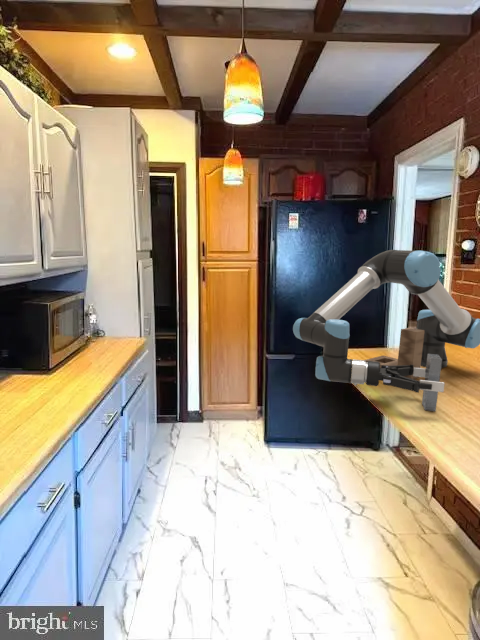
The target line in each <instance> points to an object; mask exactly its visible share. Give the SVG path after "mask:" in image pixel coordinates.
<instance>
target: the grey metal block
mask: <svg viewBox="0 0 480 640" xmlns="http://www.w3.org/2000/svg"><path fill="white" fill-rule="evenodd" d="M441 363H442V359H441V358H440V356H439V355H437V354H428V355H427V364H426V367H425V368H424V369H425V377H424V380H426V381H436V382H440V378H441V371H442V368H441ZM422 391H423V393H422V399H421V404H422V407H423V409H424V411H428V412H436V411H437V403H438V395H439V392H436V391H427V390H422Z"/></svg>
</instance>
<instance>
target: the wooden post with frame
mask: <svg viewBox="0 0 480 640" xmlns="http://www.w3.org/2000/svg"><path fill="white" fill-rule="evenodd" d="M424 332H425V330H419V329H416V328H414V327H406V328H401V329H400V334H399V335H400V337H399V346H398V356H397V358H396V357H392V356H388V355H380V356H376V357H371V358H367V359H364V360H365V361H366V362H367V363H368V362H369V361H375V362H379V363H380V368H381V365H387V366H393V365H414V366H413V369H414V368H422V366H421V358H422V349H423V341H424ZM404 377H407V378H411V379H414V380H417V379H419V378H420V377H415V376H413V375H408V376H404Z"/></svg>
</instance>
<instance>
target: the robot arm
mask: <svg viewBox="0 0 480 640" xmlns="http://www.w3.org/2000/svg"><path fill="white" fill-rule="evenodd" d="M440 266H441V262H440V259H439V258H438V257H437V256H436V254H434V253H432V252H430V251H426V250H407V249H406V250H404V249H403V250H401V249H399V250H398V249H389V250H385V251H382V252H380V253H378V254H377V255H375V256H373V257H372V258H370V259H368V260H367V261H365V263H363V264H362V265H361V266H360V267H359V268H358V269H357V273H356V274H355V275H354V276H353V277H352V278H351V279H349V280H348V282H347V283H345V284H344V285H343V286H342V287H341V288H339V290H337V292H335V293H334V294H333V295H332V296H331V297H330V298H329V299H328V300H326V301H325V302H324V303H323V304H322V305H321V306H319V307H318V308H317V309H316V310H315V311H314V312H313V313H312V314H310V316H308V317H301V318H298V319H296V320H295V322H294V324H293V325H292V331H293V334H294V336H295V338H296V339H299V340H301V341H303V342H305V343H306V342H307V343H311V344H313V345H316V346H319V347H322V348H323V351H322V355H319V356H317V357H316V361H315V371H314V372H315V374H314V375H315V378H316V379H318V380H321V381H322V380H323V381H327V382H335V383H336V382H337V383H338V382H339V383H346V384H347V383H348V384H353V385H354V386H357V385H364V384H366V385H367V386H371V387H373V386H374V387H378V386H379V383H380V382H382V385H384V386H389V387H390V386H391V387H395V388H398V389H403V390H407V391H410V392H415V393H420V391H423V390H427V391H436V392H438V393H444V391H445V382H443V381H439V382H436V381H426V380H425V379H419V380H417V379H411V378H407V377H404V376H408V375H413V376H415V377H419V378H425V369H426V364H427V355H428V354H437V355H439V356H440V358H441V359H442V363H441V369H443V368H446V367H447V366H448V361H449V360H448V356H447V353H446V352H447V351H446V347H445V346H446V344H451V345H454V346H459V347H462V348H466V349H475V348H477V347H479V345H480V318H475V317H473V316H472V315H471V313H470V312H469V311H468V310H466V309H464V308H461V307H460V306H459V305H458V303H457V302H456V300H455V299H454V298H453V296H452V295H451V294H450V293H449V291H448V290H447V289H446V287H445V286H444V285H443V283H442V282H441V281H440V277H441V273H442V268H441V267H440ZM386 283H387V284H389V283H392V284H399V285H403V286H404V288H405V289H406V290H407V291H408V292H409V293H410V294H411V295H417V296H418V297H419V298H420V299H421V301H422V302H423V303H424V304H425V306H426V307H427V308H428V309H422V310H419V312H418V314H417V315H418V316H417V319H416V328H415V329H419V330H425V332H424V341H423V349H422V358H421V367H420V368H414V369H413V366H414V365H393V366H387V365H381V368H380V363H379V362H375V361H369V362H368V363H367V362H366V361H365V360H366V359H354V358H353V359H352V358H348V353H349V343H350V341H349V340H350V336H351V335H350V323H349V322H348V321H347V320H343V319H341V318H342V317H343V316H345V315H346V313H348V312H349V311H350V310H351V309H352V308H353V307H354V306H355V305H357V303H358V302H360V301H361V300H362V299H363V298H364V297H365V296H366V295H368V293H369V292H371V291H372V290H373V289H374V290H375V289H379V287H380V286H381V285H384V284H386ZM422 367H424V368H422Z"/></svg>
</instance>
